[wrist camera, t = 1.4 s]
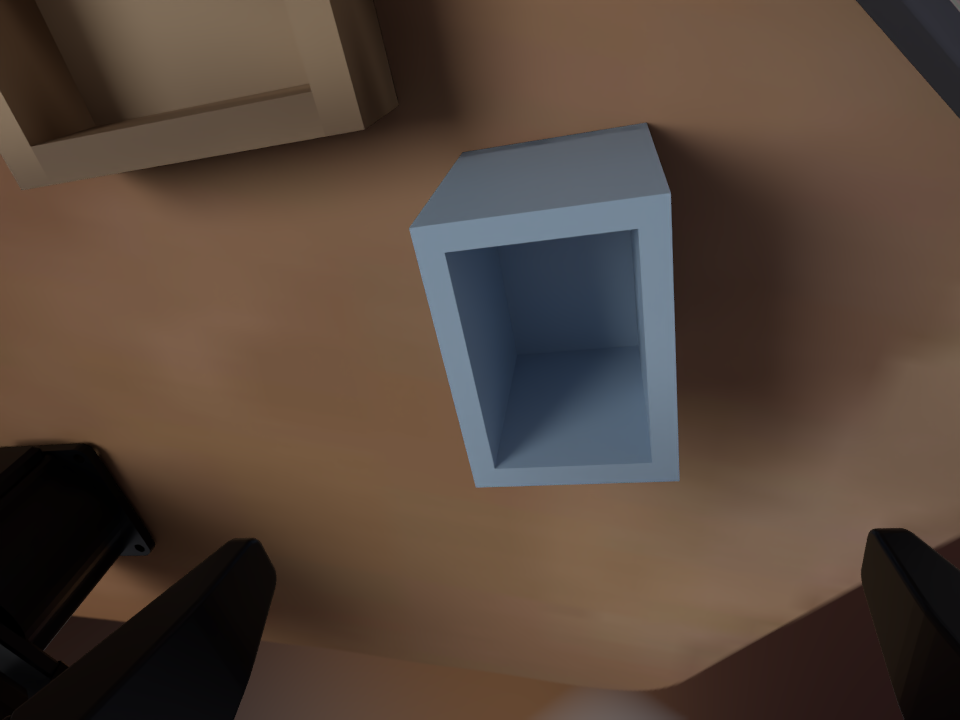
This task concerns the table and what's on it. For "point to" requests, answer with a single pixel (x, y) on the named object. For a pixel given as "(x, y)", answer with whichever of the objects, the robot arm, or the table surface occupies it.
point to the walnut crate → (180, 80)
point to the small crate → (557, 308)
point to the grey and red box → (925, 39)
